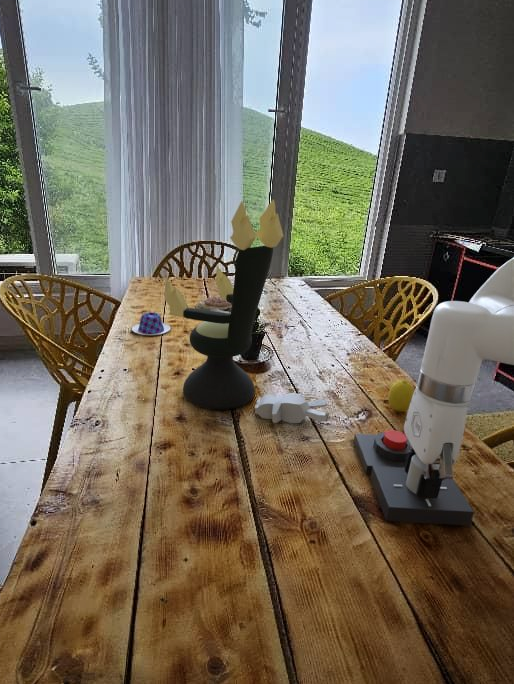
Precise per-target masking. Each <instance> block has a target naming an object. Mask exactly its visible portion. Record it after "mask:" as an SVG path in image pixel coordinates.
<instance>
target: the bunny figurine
mask: <svg viewBox="0 0 514 684" xmlns="http://www.w3.org/2000/svg"><path fill="white" fill-rule="evenodd" d="M327 406H328V401H327V400H326V399H325V398H319V399H315V400H311V401H307V400H306V398H305V397H304V395H303V394H302V393H298V392H288V393H285V394H283V393H282V392H278V393H276V395H274V394H270V393H267V394H265V395H263V396H262V397H261V398H257V400H256V403H255V406H254V414H255V415H258V416H259V417H260V418H261V419H267V420H271V419H272V420H271V421H272V423H273V424H278V423H279V422H280V421H284V422H286V423H290V424H301V423H302V421H303V420H305V418H309V419H312V420H314V421H317V422H322V423H323V422H326V420H327V412H325V411H323V410H322V411H321V410H317V409H313V408H323V407H324V408H325V407H327Z"/></svg>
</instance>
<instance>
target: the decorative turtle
mask: <svg viewBox="0 0 514 684" xmlns="http://www.w3.org/2000/svg"><path fill="white" fill-rule="evenodd" d="M194 308H196V309H203V310H209V311H216V312H223V313H229V314H230V312H229V311H225V310H227V309H231V308H232V304H231V303H229V302H227V301H226V300H223V299H221V298H220V296H216V295H215V296H210V297H207V298H205V299H203V300H200V302H197V303H195V305H194Z"/></svg>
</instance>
